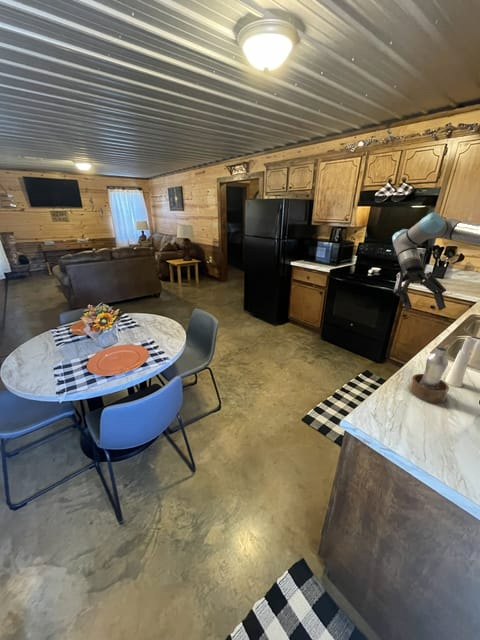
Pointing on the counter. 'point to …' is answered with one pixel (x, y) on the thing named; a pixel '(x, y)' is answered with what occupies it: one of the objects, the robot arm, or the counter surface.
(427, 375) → the plastic bottle
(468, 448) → the counter surface
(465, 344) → the cosmetic bottle
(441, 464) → the counter surface
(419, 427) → the counter surface
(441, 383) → the holder
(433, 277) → the robot arm
